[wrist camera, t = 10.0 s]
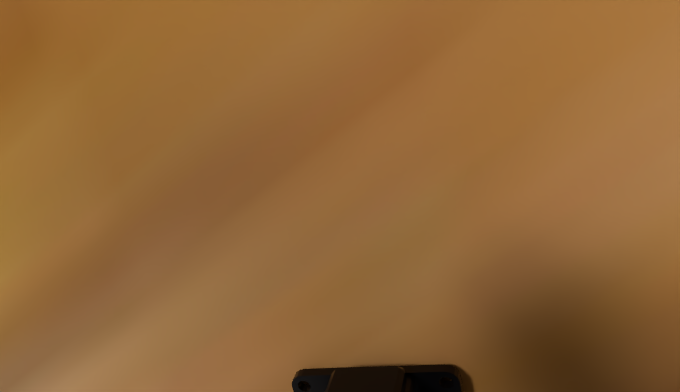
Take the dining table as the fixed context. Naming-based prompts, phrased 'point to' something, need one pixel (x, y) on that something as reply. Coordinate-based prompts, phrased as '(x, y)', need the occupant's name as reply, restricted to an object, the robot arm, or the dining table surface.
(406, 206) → the dining table surface
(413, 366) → the robot arm
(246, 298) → the dining table surface
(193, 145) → the dining table surface
